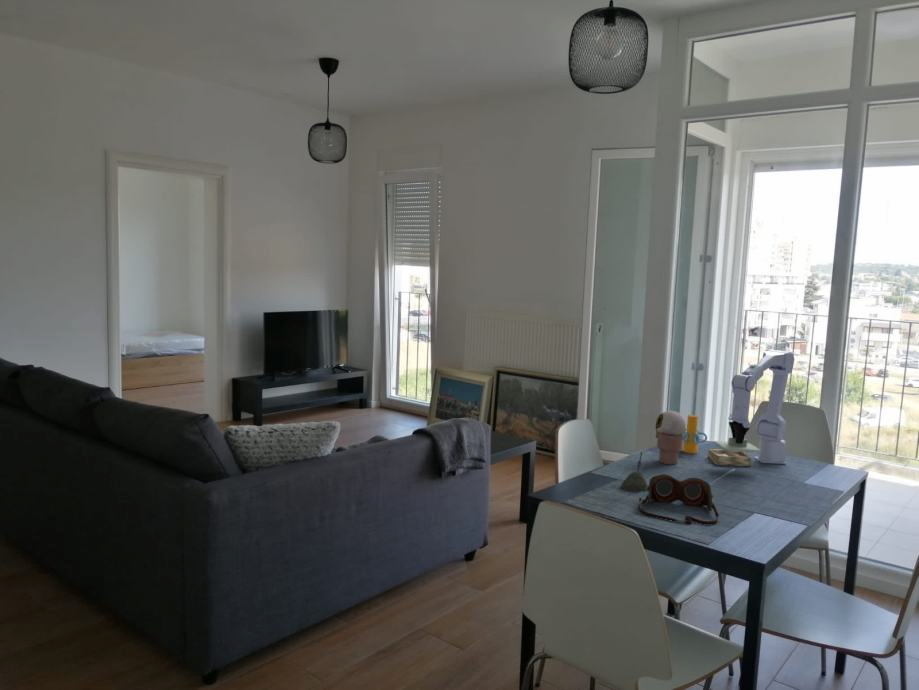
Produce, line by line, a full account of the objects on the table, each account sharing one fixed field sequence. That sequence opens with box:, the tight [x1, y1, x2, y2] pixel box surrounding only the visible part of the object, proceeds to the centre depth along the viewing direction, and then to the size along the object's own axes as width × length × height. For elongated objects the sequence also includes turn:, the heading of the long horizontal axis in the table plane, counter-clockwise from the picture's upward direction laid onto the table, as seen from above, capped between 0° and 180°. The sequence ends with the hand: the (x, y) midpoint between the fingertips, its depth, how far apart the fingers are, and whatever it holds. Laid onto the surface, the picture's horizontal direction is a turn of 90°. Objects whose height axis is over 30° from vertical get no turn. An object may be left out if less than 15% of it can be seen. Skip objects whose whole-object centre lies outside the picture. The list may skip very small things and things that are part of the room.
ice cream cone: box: [655, 410, 687, 465], centre depth 272 cm, size 11×11×20 cm
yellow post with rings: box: [681, 414, 708, 454], centre depth 289 cm, size 12×10×15 cm
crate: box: [707, 448, 752, 467], centre depth 277 cm, size 13×10×4 cm
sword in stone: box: [619, 451, 649, 493], centre depth 239 cm, size 10×8×12 cm
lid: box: [714, 437, 761, 454], centre depth 265 cm, size 13×10×4 cm
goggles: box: [637, 473, 719, 526], centre depth 218 cm, size 24×24×10 cm
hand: (737, 442), depth 265 cm, fingers closed on lid, 2 cm apart
